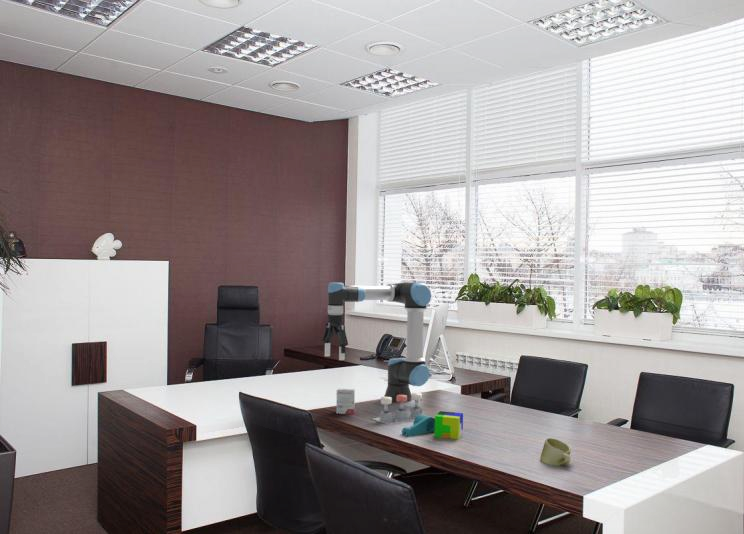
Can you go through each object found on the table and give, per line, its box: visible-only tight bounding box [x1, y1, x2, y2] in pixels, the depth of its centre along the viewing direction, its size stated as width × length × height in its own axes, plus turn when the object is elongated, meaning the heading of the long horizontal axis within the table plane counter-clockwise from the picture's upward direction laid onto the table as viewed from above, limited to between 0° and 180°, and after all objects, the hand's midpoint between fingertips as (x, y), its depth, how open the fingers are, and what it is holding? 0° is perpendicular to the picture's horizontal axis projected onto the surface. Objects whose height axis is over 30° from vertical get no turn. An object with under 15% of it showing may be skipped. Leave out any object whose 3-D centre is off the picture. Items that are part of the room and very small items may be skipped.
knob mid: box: [396, 395, 408, 410], centre depth 292 cm, size 5×5×7 cm
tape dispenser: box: [401, 413, 435, 437], centre depth 268 cm, size 7×15×8 cm, turn 125°
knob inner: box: [411, 392, 423, 408], centre depth 297 cm, size 5×5×7 cm
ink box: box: [335, 388, 356, 415], centre depth 304 cm, size 9×5×12 cm, turn 84°
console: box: [372, 406, 423, 426], centre depth 292 cm, size 24×13×5 cm, turn 125°
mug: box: [540, 437, 571, 466], centre depth 224 cm, size 12×10×10 cm
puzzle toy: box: [434, 410, 464, 440], centre depth 263 cm, size 10×10×10 cm
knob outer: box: [380, 396, 393, 412], centre depth 286 cm, size 5×5×7 cm
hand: (334, 358), depth 300 cm, fingers open, 13 cm apart
